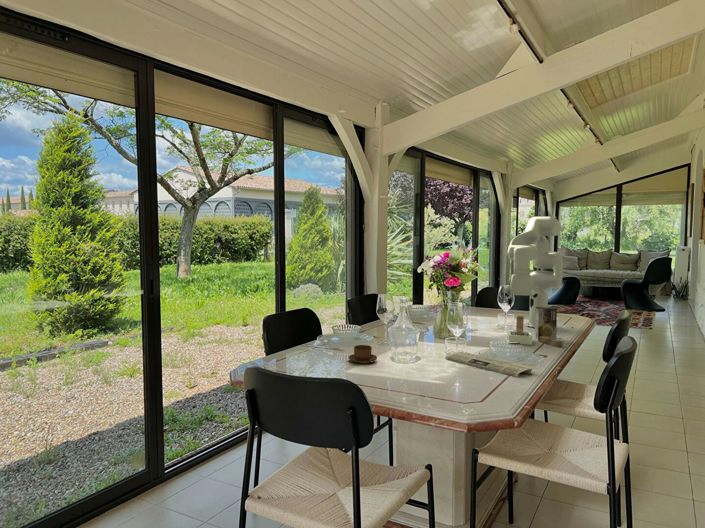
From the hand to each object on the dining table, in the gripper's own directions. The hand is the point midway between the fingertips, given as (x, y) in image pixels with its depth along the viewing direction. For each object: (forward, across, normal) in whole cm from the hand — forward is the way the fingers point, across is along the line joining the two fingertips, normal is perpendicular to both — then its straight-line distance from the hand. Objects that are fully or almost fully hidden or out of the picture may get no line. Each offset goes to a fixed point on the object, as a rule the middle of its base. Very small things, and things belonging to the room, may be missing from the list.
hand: (520, 306), depth 245 cm
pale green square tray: (+17, 0, +1) cm, 17 cm away
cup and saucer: (+16, +67, +55) cm, 88 cm away
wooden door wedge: (+18, -14, +3) cm, 23 cm away
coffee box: (+18, -13, -8) cm, 23 cm away
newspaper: (+17, +15, +48) cm, 53 cm away
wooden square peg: (+16, 0, +1) cm, 17 cm away
